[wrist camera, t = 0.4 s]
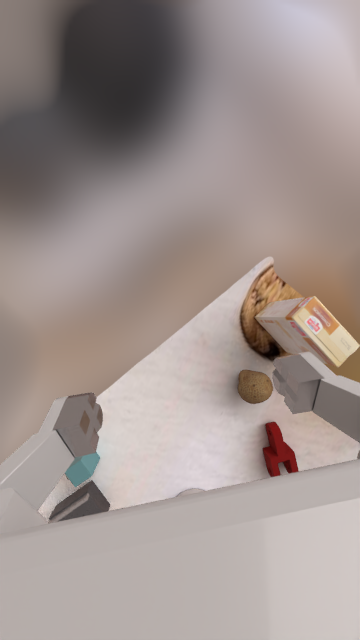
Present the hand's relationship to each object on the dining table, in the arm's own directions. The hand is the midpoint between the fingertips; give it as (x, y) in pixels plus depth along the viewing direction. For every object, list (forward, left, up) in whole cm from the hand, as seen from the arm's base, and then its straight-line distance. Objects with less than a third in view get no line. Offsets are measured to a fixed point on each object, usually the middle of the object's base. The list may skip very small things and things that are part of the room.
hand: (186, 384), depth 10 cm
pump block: (-18, +40, -53) cm, 68 cm away
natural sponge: (-27, -10, -53) cm, 60 cm away
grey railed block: (-30, +49, -53) cm, 78 cm away
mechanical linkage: (-48, -6, -53) cm, 72 cm away
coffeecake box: (-19, -27, -53) cm, 62 cm away
